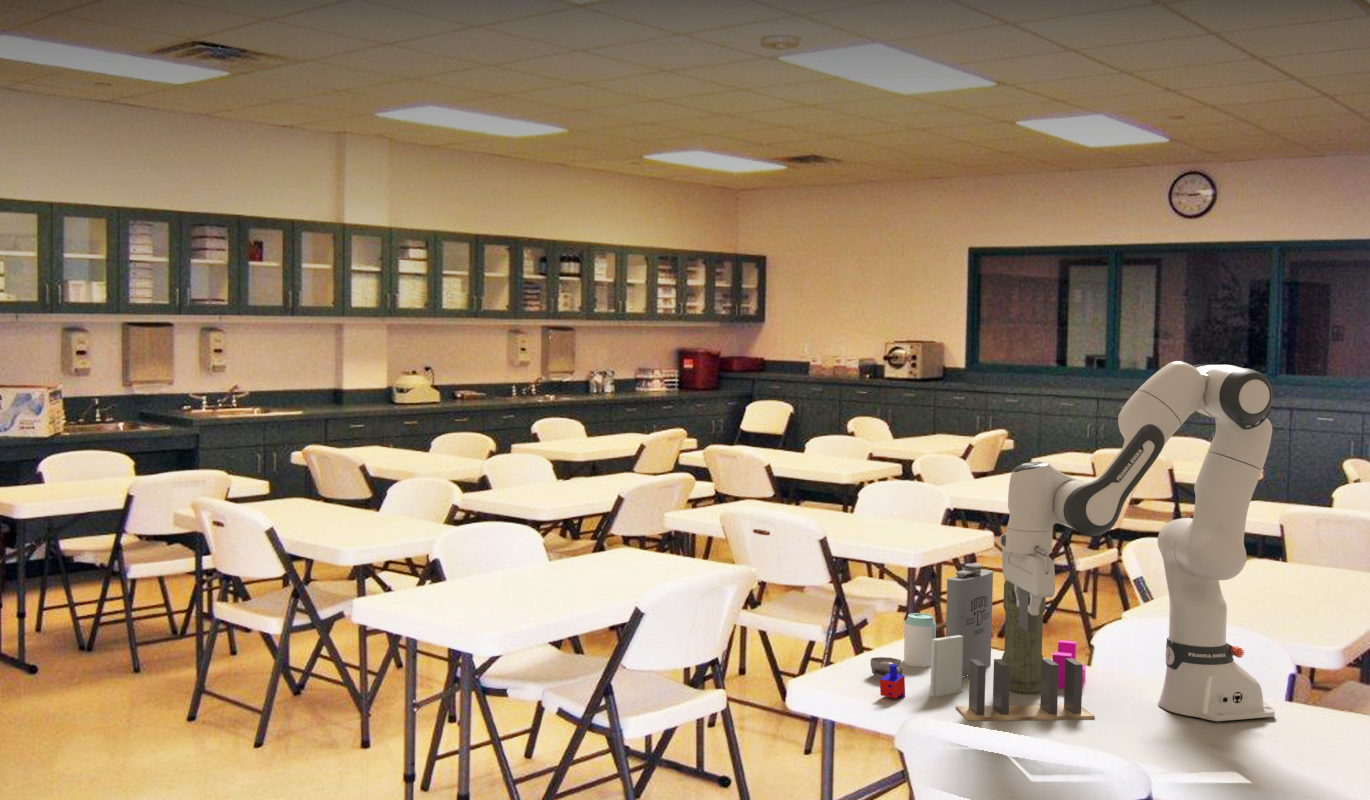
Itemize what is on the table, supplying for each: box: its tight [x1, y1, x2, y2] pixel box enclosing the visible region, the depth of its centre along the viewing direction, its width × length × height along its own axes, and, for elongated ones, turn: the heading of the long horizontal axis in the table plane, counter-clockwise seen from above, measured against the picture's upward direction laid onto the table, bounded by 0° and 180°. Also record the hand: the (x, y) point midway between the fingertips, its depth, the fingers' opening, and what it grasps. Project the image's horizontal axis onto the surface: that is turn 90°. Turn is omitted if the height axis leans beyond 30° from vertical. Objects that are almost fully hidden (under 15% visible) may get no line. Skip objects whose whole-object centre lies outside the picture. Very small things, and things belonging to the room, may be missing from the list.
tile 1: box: [968, 659, 987, 715], centre depth 261 cm, size 2×5×10 cm, turn 6°
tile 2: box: [992, 658, 1010, 715], centre depth 262 cm, size 2×5×10 cm, turn 6°
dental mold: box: [870, 656, 904, 682], centre depth 285 cm, size 8×7×5 cm
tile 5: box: [1063, 658, 1084, 714], centre depth 263 cm, size 2×5×10 cm, turn 6°
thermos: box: [1001, 579, 1047, 696], centre depth 280 cm, size 9×12×35 cm
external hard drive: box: [929, 635, 963, 698], centre depth 275 cm, size 2×8×12 cm, turn 123°
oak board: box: [955, 704, 1096, 721], centre depth 262 cm, size 26×8×1 cm, turn 96°
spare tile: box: [1019, 588, 1036, 632], centre depth 261 cm, size 2×5×10 cm, turn 6°
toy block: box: [1052, 639, 1087, 690], centre depth 288 cm, size 15×6×8 cm, turn 159°
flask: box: [945, 563, 994, 678], centre depth 293 cm, size 17×5×25 cm, turn 141°
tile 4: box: [1039, 658, 1059, 714], centre depth 262 cm, size 2×5×10 cm, turn 6°
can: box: [903, 612, 937, 668], centre depth 299 cm, size 7×7×12 cm
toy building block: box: [879, 664, 906, 699], centre depth 270 cm, size 4×4×8 cm
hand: (1027, 611), depth 261 cm, fingers closed on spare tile, 5 cm apart
